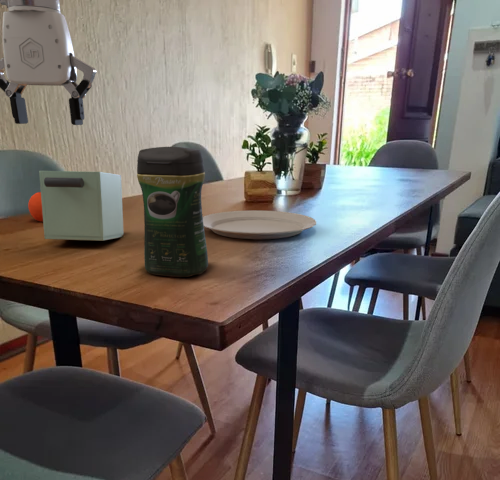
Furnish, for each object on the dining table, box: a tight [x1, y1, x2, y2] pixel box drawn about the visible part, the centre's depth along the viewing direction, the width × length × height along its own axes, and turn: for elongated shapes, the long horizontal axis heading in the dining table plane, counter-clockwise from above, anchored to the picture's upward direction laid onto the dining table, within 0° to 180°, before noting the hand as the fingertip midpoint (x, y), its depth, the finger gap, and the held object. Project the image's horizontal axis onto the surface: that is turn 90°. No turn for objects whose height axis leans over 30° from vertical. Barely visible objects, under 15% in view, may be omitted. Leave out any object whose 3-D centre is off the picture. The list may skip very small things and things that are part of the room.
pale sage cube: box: [38, 170, 125, 242], centre depth 95 cm, size 14×11×12 cm
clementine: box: [27, 191, 43, 223], centre depth 115 cm, size 8×7×7 cm
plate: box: [202, 209, 317, 240], centre depth 110 cm, size 26×26×2 cm
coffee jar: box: [136, 146, 209, 278], centre depth 77 cm, size 10×8×19 cm
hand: (49, 124), depth 85 cm, fingers open, 9 cm apart
